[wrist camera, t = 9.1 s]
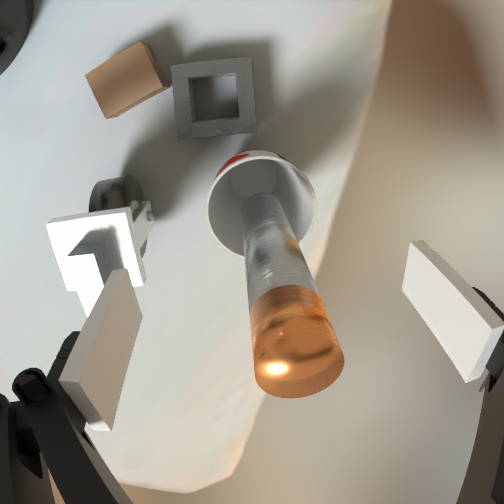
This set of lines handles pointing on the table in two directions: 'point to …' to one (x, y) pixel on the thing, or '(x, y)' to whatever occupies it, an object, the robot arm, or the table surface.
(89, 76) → the block
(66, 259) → the caster wheel
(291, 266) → the pin
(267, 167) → the cup
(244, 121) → the grey square socket base
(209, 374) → the table surface
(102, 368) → the robot arm
